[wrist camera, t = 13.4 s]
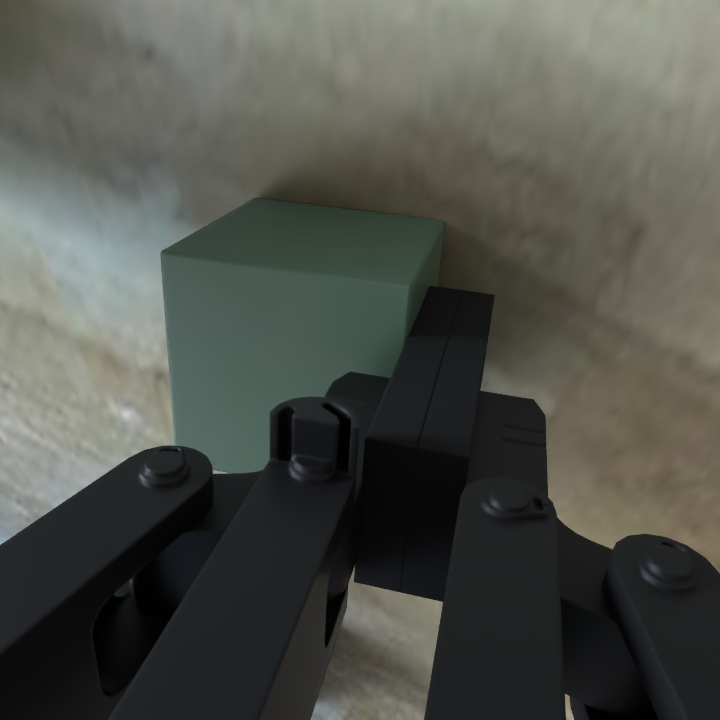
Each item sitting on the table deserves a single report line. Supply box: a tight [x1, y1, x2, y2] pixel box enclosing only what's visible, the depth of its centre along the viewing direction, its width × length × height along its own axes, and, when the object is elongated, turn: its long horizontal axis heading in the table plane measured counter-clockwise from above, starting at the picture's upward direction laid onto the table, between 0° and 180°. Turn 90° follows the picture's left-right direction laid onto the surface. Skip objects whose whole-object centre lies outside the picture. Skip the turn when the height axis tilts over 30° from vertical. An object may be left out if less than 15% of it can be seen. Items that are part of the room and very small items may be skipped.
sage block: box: [161, 198, 445, 474], centre depth 16 cm, size 5×5×5 cm
